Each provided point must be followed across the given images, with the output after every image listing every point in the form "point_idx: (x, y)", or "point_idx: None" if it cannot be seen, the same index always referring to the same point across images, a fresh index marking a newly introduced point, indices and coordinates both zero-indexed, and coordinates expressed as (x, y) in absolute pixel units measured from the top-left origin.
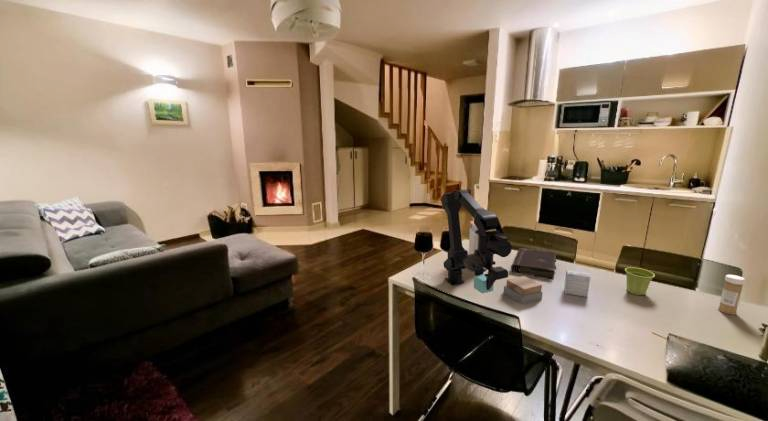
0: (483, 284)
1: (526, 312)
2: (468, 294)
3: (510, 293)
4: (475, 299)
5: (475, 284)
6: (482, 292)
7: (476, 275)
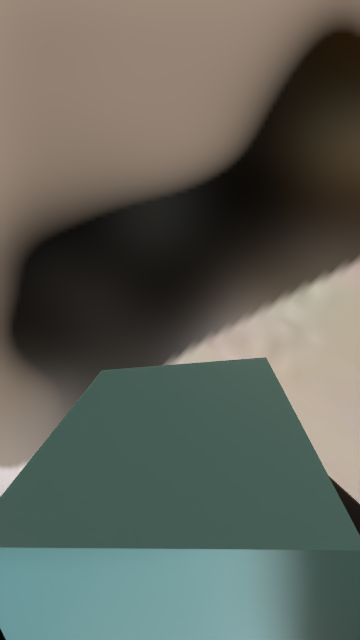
0: (35, 475)
1: None
2: (350, 332)
3: None
4: (257, 340)
5: (241, 393)
6: (97, 379)
7: (354, 605)
